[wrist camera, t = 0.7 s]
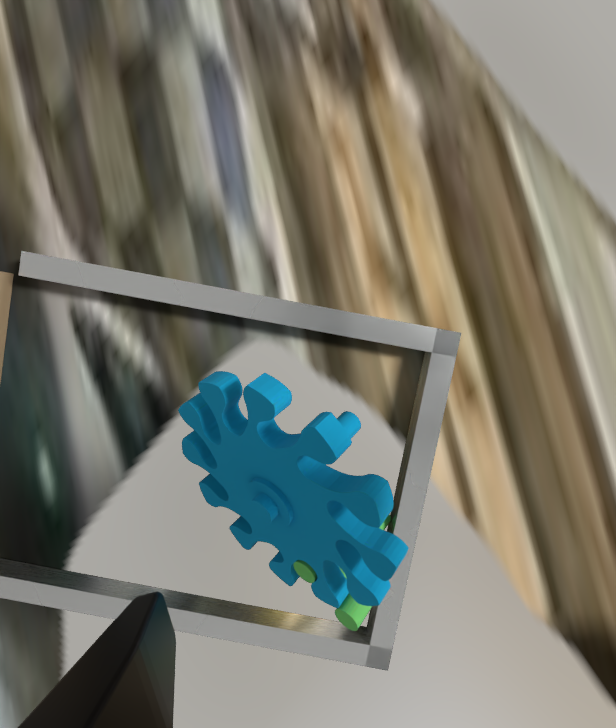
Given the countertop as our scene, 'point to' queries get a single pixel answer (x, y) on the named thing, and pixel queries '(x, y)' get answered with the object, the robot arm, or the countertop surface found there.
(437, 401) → the gray rectangular frame
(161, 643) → the robot arm
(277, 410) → the gear
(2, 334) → the block
